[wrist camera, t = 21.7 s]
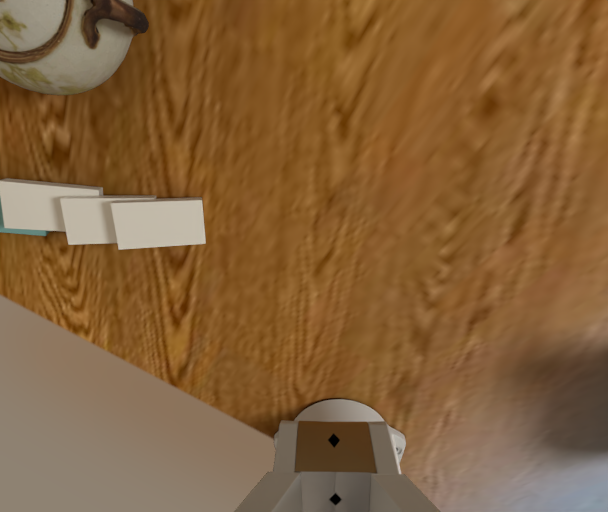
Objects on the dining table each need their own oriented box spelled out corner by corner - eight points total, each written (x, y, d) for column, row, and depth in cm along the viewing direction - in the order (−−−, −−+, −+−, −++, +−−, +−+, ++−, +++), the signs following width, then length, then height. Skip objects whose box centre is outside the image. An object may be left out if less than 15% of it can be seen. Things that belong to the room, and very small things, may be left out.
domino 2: (158, 241, 39) (68, 244, 37) (159, 237, 41) (74, 240, 39) (153, 198, 38) (59, 198, 35) (155, 195, 39) (66, 195, 37)
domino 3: (205, 243, 39) (118, 249, 37) (205, 239, 41) (122, 244, 38) (202, 200, 38) (110, 203, 35) (201, 197, 39) (114, 200, 37)
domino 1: (100, 233, 39) (4, 228, 36) (104, 229, 41) (12, 223, 38) (98, 190, 38) (-2, 180, 35) (102, 187, 39) (6, 178, 36)
